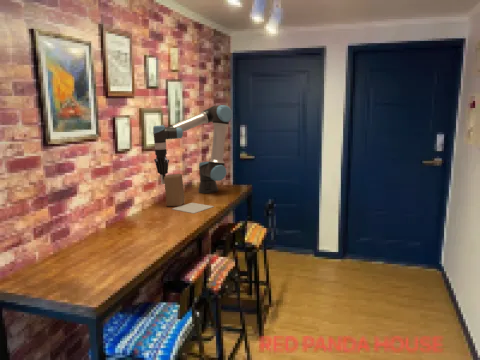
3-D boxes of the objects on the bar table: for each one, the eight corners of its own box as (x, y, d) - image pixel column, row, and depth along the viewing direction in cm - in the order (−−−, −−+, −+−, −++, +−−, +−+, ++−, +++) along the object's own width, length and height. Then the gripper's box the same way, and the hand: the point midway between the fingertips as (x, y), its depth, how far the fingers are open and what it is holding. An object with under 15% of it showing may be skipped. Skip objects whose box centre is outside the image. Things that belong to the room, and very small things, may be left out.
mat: (192, 203, 249) (192, 202, 249) (214, 206, 236) (214, 206, 236) (171, 209, 235) (171, 208, 235) (193, 213, 223) (193, 213, 223)
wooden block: (185, 202, 250) (182, 173, 247) (181, 206, 240) (178, 175, 237) (170, 203, 251) (167, 174, 248) (166, 206, 241) (163, 176, 238)
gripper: (149, 149, 247) (152, 184, 251) (162, 149, 239) (165, 185, 243) (158, 148, 253) (161, 182, 257) (171, 148, 244) (174, 183, 249)
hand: (163, 183), depth 250 cm, fingers closed
